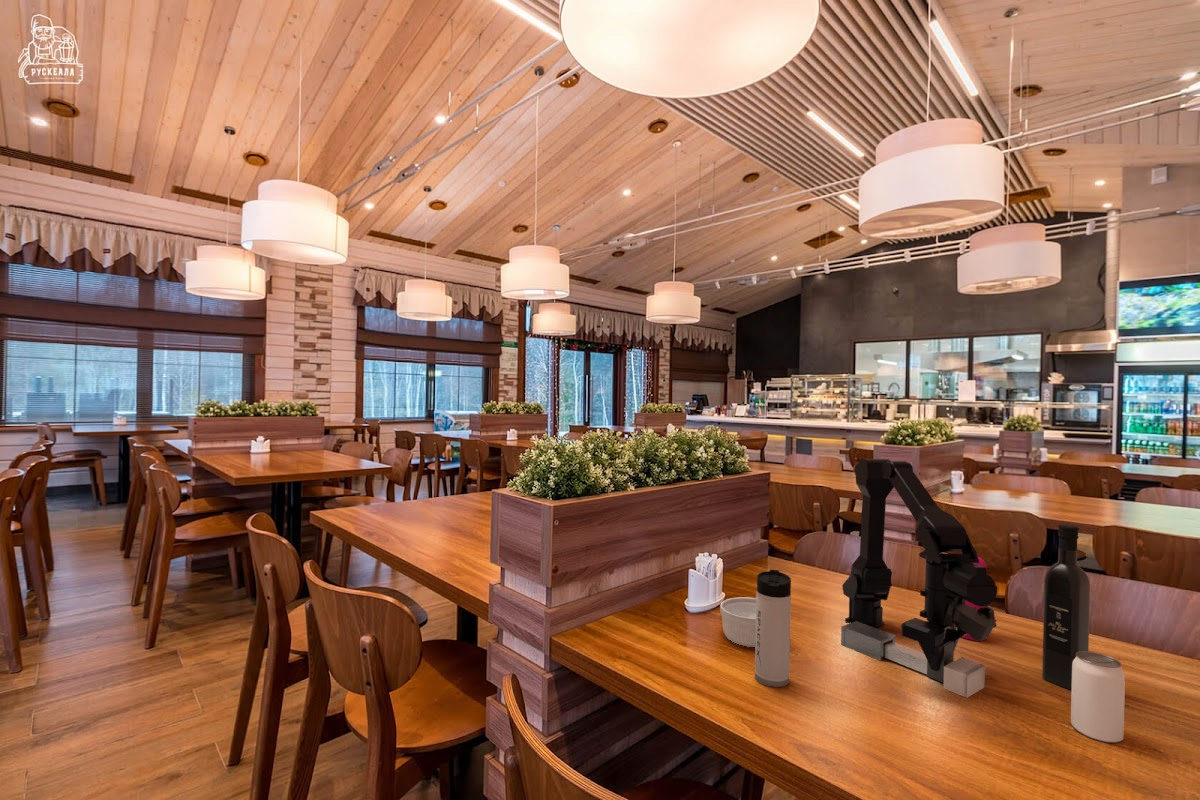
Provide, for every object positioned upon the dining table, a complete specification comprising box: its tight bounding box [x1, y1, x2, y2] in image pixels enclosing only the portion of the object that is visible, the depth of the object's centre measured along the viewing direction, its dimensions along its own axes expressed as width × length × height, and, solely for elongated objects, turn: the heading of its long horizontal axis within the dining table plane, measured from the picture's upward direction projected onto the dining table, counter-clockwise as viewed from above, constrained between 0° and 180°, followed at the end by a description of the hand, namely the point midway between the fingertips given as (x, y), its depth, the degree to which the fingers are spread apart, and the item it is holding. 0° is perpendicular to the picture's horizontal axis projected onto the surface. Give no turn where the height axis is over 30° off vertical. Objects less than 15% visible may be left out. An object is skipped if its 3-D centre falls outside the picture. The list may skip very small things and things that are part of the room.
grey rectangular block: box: [943, 656, 986, 699], centre depth 106 cm, size 4×7×4 cm, turn 124°
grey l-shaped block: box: [883, 638, 955, 684], centre depth 112 cm, size 16×4×7 cm, turn 34°
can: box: [1070, 650, 1126, 744], centre depth 93 cm, size 6×6×12 cm
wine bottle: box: [1041, 524, 1091, 691], centre depth 109 cm, size 6×6×30 cm
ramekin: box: [719, 596, 756, 648], centre depth 127 cm, size 13×13×7 cm
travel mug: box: [754, 569, 792, 688], centre depth 108 cm, size 6×7×20 cm
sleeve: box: [840, 621, 896, 662], centre depth 122 cm, size 9×6×4 cm, turn 34°
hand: (940, 667), depth 110 cm, fingers closed on grey l-shaped block, 4 cm apart
